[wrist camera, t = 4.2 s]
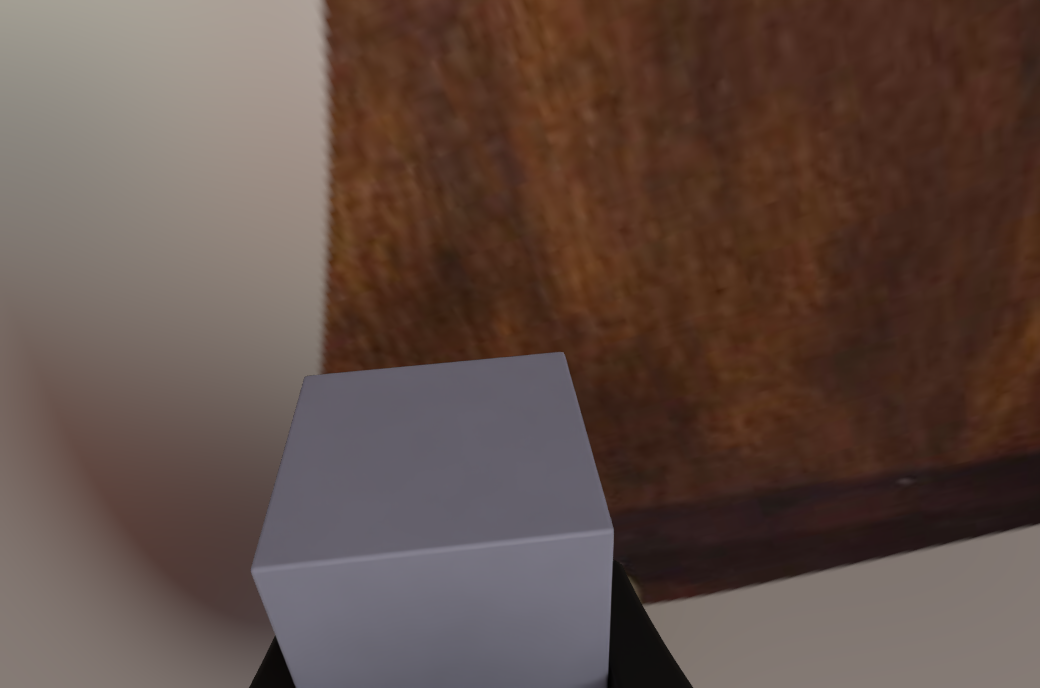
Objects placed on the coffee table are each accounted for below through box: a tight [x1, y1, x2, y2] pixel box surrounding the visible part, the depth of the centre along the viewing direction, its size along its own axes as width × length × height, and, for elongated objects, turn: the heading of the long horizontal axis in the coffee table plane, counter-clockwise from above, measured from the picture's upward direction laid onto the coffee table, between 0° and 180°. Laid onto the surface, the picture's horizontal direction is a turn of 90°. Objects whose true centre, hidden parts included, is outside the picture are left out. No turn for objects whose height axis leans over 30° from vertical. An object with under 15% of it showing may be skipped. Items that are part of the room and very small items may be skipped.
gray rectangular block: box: [251, 352, 614, 688], centre depth 11 cm, size 8×4×4 cm, turn 3°
